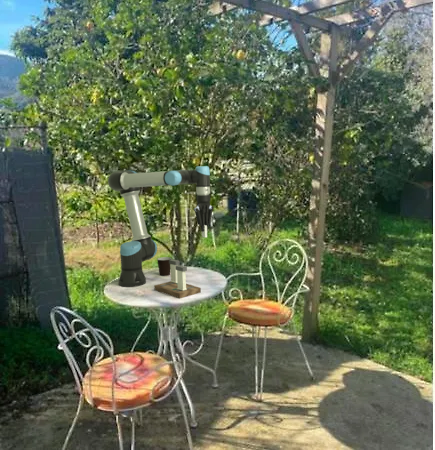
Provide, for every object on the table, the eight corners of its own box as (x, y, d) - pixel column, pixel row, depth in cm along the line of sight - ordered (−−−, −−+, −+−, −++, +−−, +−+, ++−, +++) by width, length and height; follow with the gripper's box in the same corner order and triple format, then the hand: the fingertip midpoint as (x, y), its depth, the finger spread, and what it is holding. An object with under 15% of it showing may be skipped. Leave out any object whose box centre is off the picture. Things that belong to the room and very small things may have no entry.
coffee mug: (169, 276, 265) (168, 260, 264) (155, 276, 267) (155, 260, 266) (175, 271, 277) (174, 256, 275) (161, 271, 278) (161, 255, 277)
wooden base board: (175, 284, 247) (174, 280, 247) (200, 292, 231) (200, 287, 231) (154, 290, 238) (154, 285, 237) (179, 298, 222) (179, 293, 222)
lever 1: (173, 280, 245) (172, 259, 243) (180, 282, 241) (179, 260, 239) (169, 281, 243) (168, 260, 242) (176, 283, 239) (175, 261, 237)
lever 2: (180, 287, 231) (179, 265, 229) (187, 289, 226) (186, 266, 225) (176, 288, 229) (175, 265, 227) (183, 290, 225) (182, 267, 223)
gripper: (198, 195, 235) (200, 239, 238) (216, 194, 243) (217, 236, 247) (189, 195, 240) (191, 237, 243) (207, 193, 249) (208, 234, 252)
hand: (204, 237), depth 245 cm, fingers closed
